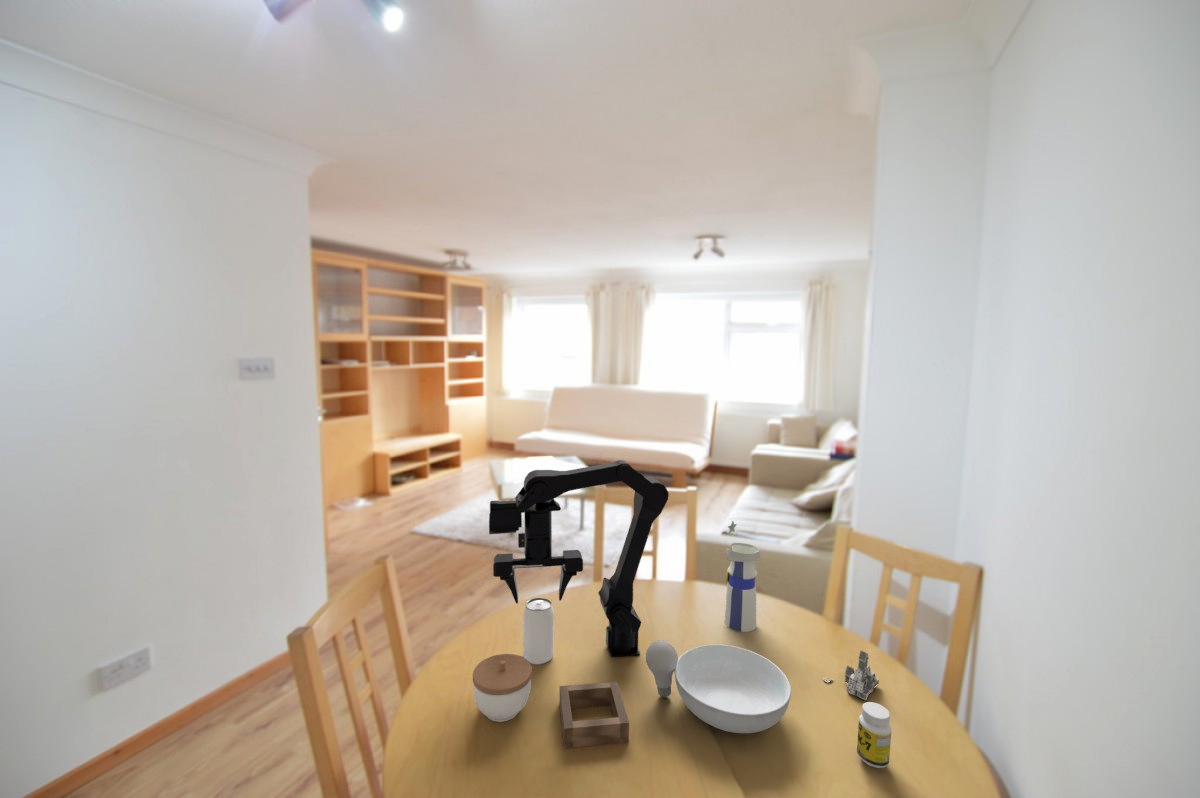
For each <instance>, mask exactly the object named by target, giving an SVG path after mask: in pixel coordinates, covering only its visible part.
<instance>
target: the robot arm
mask: <svg viewBox="0 0 1200 798" xmlns="http://www.w3.org/2000/svg"><path fill="white" fill-rule="evenodd" d="M618 482H623V483H624V484H625V485H626V486H628V487H629V488H631V490H633V491H634V495H633V516H632V518H631V522H630V525H629V528H628V530H627V535H626V537H625V540H624V544H623V547H622V550H621V552H620V556H619V559H618V562H617V565H616V568H615V571H614V573H613V575H611V577H609V578H607V577H603V578H602V579H603V580H602V584H601V588H600V590H599V591H598V595H599V601H600V604H601V607H602V609H603V611H604V614H605V616H606V618H607V620H608V626H606V629H605V645H606V648H607V649H606V650H608V651H609V655H610V657H611V658H618V657H621V658H622V657H634V656H641V652H640V649H639V630H640V627H641V626H642V621H641V619H640V617H639V615H638V613H637V611H636V610H635V608H634V606H633V603H634V581H635V577H636V576H637V572H638V568H639V566H640V563H641V560H642V557H643V554H644V550H645V547H646V544H647V541H648V538H649V535H650V533H651V532H650V531H651V529H652V526H653V523H654V521H656V520H657V518H658V517H659V516H660V515H661V514H662V512H663V511H664V509H665V506H666V504H667V503H668V500H669V497H670V496H669V495H670V494H669V491H668V489H667V487H666V486H665V485H664V484H663V483H662V482H661V481H659V480H658V479H657V478H655V477H653V476H648V475H647V476H644V475H643V474H641V473H640V472H639V471H638V470H636V469H635V468H633V467H632V466H631V464H629V463H627V461H626V460H622V459H618V460H615V461H612V462H608V463H602V464H598V465H597V464H596V465H592V466H586V467H579V468H574V469H570V470H557V469H556V470H554V469H535V470H532V471H530V472H528V473H527V475H526V476H525V478H524V480H523V486H522V488H521V489H520V490H519V492H518V493H517V494H516V496H515V498H514V500H491V501H490V502H489V514H488V515H489V516H488V517H489V518H488V533H489V535H499V534H500V535H502V534H503V535H504V534H505V535H506V534H516V533H517V532H518V531H520V528H523V527H522V524H523V521H522V520H523V519H522V516H523V515H522V514H524V532H519V533H518V534H517V536H518V538H517V540H518V542H517V544H518V545H517V546H518V548H519V549H521V548H523V549H524V558H514V556H513V555H514V553H512V552H511V553H497V554H496V555H495V556H494V558H493V565H492V569H493V570H492V571H493V575H492V576H493V577H495V578H499V580H500V581H505V583H506V585H507V587H508V588H509V590H510V592H511V595H512V597H513V599H514V602H515V604H517V605H518V604H519V593H518V585H517V579H516V578H517V577H516V570H515V569H524V568H525V569H528V568H530V569H531V568H543V567H544V568H546V567H560V578H559V587H558V601H562V599H563V596H564V594H565V591H566V589H567V586H568V584H569V583H570V581H571V579H572V578H573V577H574V576H577V575H578V573H580V572H583V571H584V559H583V556H582V553H581V551H580V550H579V549H570V550H569V549H567V550H564V549H563V550H562V555H560V556H552V555H553V553H552V550H553V548H552V547H553V545H552V542H553V540H552V537H553V535H552V532H553V530H552V528H553V527H552V520H553V519H552V517H553V516H552V512H558V511H561V510H562V508H561V504H560V503H559V502H558V501H556V500H555V499H557V498H558V497H560V496H561V495H563V494H565V493H568V492H570V491H576V490H579V489H580V490H581V489H586V488H591V487H592V488H593V487H596V486H602V485H607V484H613V483H614V484H615V483H618Z"/></svg>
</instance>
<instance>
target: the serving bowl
mask: <svg viewBox="0 0 1200 798" xmlns="http://www.w3.org/2000/svg"><path fill="white" fill-rule="evenodd" d="M673 673H674V678H675V680H674V681H675V685H676V687H677V688H676V689H677V691H678V694H679V695H680V698H681V700H682V702H683V703H684V705H686V707H687V708H688V709H689V711H691V713H693V715H695V716H696V717H697V718H698V719H700V720H701V721H702V722H704V723H706V724H708V725H709V726H710V727H711V726H712V727H714V728H716V729H719V730H722V731H724V732H725V731H726V732H728V733H735V734H754V733H758V732H759V733H760V732H762V731H766V730H767V729H770V728H771V727H773V726H774V725H776V724H777V723H778V722H780V720H781V719H782V718H783V716H785V714H786V712H787V710H788V707H789V704H790V701H791V696H792V687H791V683H790V682H789V679H788V678H787V677H788V676H787V675H786V674H785V672H783V670H781V668H779V667H778V665H776V664H775V663H774V662H772V661H771V660H769V659H768V658H766V657H765V656H763V655H761V654H759V653H756V652H754V651H752V650H748V649H745V648H743V647H739V646H735V645H727V644H705V645H699V646H695V647H692V648H690V649H688V650H687V651H684V652H683V653H682V654H681V655H680V656H679V657H678V661H677V665H676V668H675V670H674V672H673Z"/></svg>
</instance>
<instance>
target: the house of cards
mask: <svg viewBox="0 0 1200 798" xmlns="http://www.w3.org/2000/svg"><path fill="white" fill-rule="evenodd" d="M858 655H859V656H858V663H857V665H858V666H857V667H856V668H855V669H854V667H852V666H850V665H846V667H845V670H844V671H845V672H844V675H845V676H844V683H845V682H847V683H848V684H847V683H846V684H847V685H846V689H845V690H846V692H847V691H848V692H847V693H849V694H851V695H853V696H855V697H858V698H860V699H862V700H865V701H866V700H867V699H868V697H869V696H870V695H871V694H872V693H871V692H873V693H874V689H873V688H874V687H875V686H876V685H877V684H879V683H880V679H879V678H878V677H876V673H875V671H872V670H871V668H870V666H871V665H870V664H868V662H869V661H868V660H869V654H868V652H866V651H863V650H860V651H859V654H858ZM829 678H830V679H832V678H831V677H829ZM829 678H827V677H823V678H822V680H823V681H824V682H825V683H830V681H831V680H829V681H827V680H825V679H829ZM831 682H832V681H831ZM879 685H880V684H879ZM877 686H878V685H877ZM877 686H876V687H877ZM876 687H875V688H876ZM870 693H871V694H870ZM856 694H857V695H856ZM869 694H870V695H869ZM868 695H869V696H868ZM867 701H868V700H867Z"/></svg>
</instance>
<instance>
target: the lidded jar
mask: <svg viewBox="0 0 1200 798" xmlns="http://www.w3.org/2000/svg"><path fill="white" fill-rule="evenodd" d="M532 676H533V668H532V664H530V663H529V661H528V660H527V659H525V658H524V657H523V656H521V655H518V654H513V653H500V654H496V655H492V656H489V657H487V658H485V659H483V660H481V661H480V662H479V663H478V664H477V665H476V666H475V668H474V669H473V671H472V684H473V685H472V686H473V688H472V689H473V690H472V691H473V695H474V696H473V697H474V699H475V704H476V706H477V708H478V710H479V711H480V712H481V713H482V714H483V715H484V716H486V717H487V719H489V720H490V721H491V722H495V723H504V722H507V721H508V722H509V721H511V720H512V719H514V718H515V717H516V716H518V714H519V713H520V711H522V710H523V708H524V707H525V706H526V704H527V702H528V700H529V698H530V694H531V687H532Z"/></svg>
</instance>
